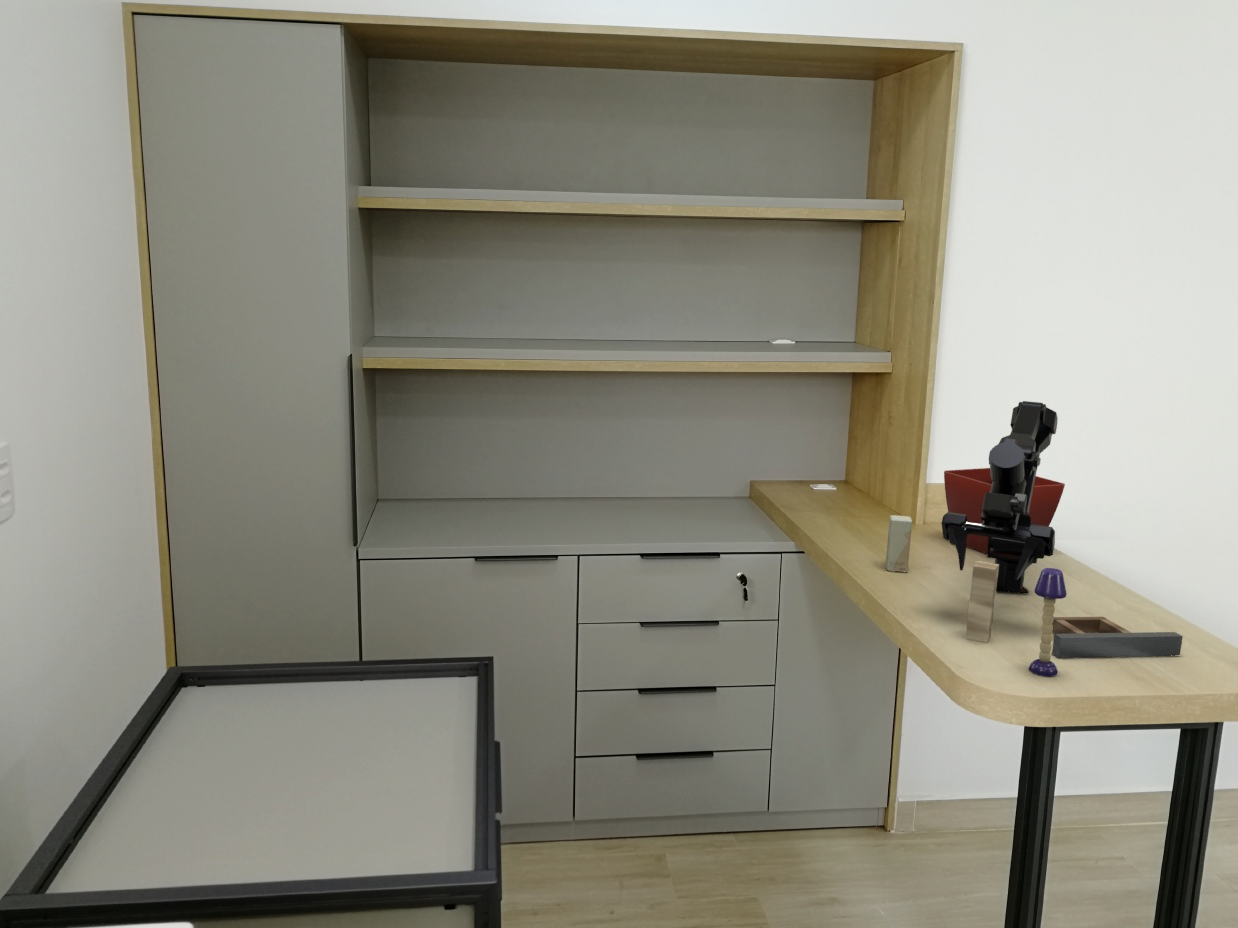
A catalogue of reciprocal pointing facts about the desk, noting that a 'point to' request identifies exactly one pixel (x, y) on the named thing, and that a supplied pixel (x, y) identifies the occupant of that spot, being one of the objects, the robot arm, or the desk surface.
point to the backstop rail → (1116, 645)
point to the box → (898, 543)
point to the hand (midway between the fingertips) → (988, 573)
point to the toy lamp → (1048, 618)
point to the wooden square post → (982, 601)
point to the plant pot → (972, 485)
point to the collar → (1085, 625)
